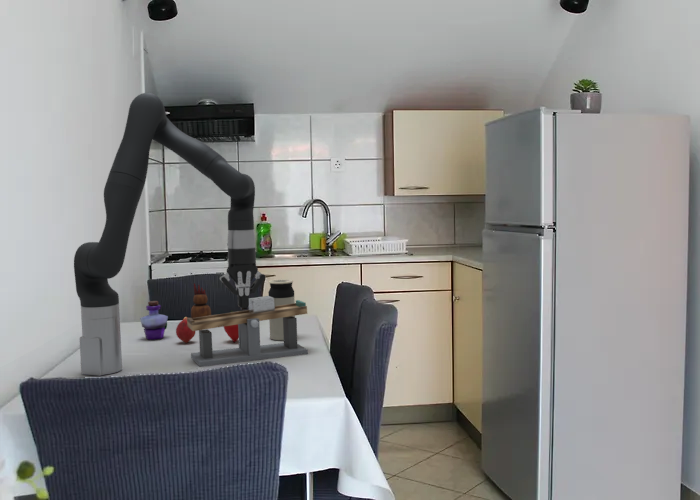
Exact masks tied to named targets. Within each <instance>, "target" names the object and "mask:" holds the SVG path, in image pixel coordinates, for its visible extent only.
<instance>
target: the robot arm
mask: <svg viewBox="0 0 700 500" xmlns="http://www.w3.org/2000/svg"><path fill="white" fill-rule="evenodd" d="M171 121H172V120H170V119H169V118H168V117H167V114H166V108H165V106H164V103H163V101H162V99H161V98H160V97H159V96H157V94H154V93H153V92H142V93H139V94H138V95H137V96H135V97H134V98H133V100H131V102H130V104H129V108H128V114H127V118H126V123H125V127H124V132H123V137H122V139H121V141H120V144H119V147H118V149H117V151H116V154H115V157H114V160H113V162H112V164H111V167H110V170H109V173H108V176H107V179H106V182H105V185H104V189H103V202H104V209H105V216H106V217H105V218H106V219H105V223H104V228H103V231H102V234H101V237H100V239H99V241H98V242H96V241H89V242H84V243H83V244H81V245H79V246H78V247H77V249H76V251H75V253H74V258H73V269H74V271H73V272H74V279H75V280H74V283H75V289H76V294H77V297H78V298H79V302H80V316H81V334H82V336H80V337H79V352H80V353H79V355H80V372H81V375H87V376H103V375H109V374H114V373H117V372H118V373H119V372H121V371H122V370H123V358H122V356H123V355H122V340H121V339H122V337H121V317H120V314H121V313H120V298H119V294H118V292H117V291H116V290H115V289H113V288H112V287H111V285H110V284H109V280H108V279H110V280H111V279H113V278H114V277H116V276H117V275H118V274H119V273H120V272H121V271H122V268H123V265H124V263H125V259H126V253H127V249H128V244H129V237H130V233H131V230H132V225H133V222H134V219H135V216H136V212H137V208H138V205H139V202H140V201H141V200H140V199H141V197H142V195H143V190H144V187H145V184H146V181H147V175H148V169H149V160H150V159H149V158H150V152H151V151H150V150H151V145H152V142H153V141H154V142H157V143H159V144H160V145H162V146H164V147H165V148H166V149H169V150H170V151H171V152H173V153H174V154H176V155H178V157H180V158H182V159H183V160H184V161H185V162H187V163H188V164H189V165H190V166H192V167H193V168H194V169H196V170H197V171H198V172H200V173H201V175H204V176H205V177H206V178H207V179H209V180H211V182H213V183H214V184H215V185H216V186H217V187H218V188H219V189H220V190H221V191H222V192H223V193H224V194H226V195H227V196H228V197H229V198H230V208H229V210H228V213H227V243H226V244H227V245H226V247H227V268H226V273H224V274H223V275H221V276H219V279H218V280H219V281H220V282H221V283H222V284H223V285H224V286H225V288H226V289H227V290H228V291H229V292H230V293H231V294H232V295H235V296H236V297H237V307H238V308H239V309H240V311H244V310H248V309H247V308H249V298H250V297H249V295H251V294H255V293H256V291H257V290H258V288H259V287H260V285H261V284H262V283H263V281H264V280H265V279H266V275H265V274H264V273H261V272H260V271H259V270H258V269H259V268H258V267H257V262H256V260H257V259H256V258H257V257H256V251H257V249H256V235H255V220H254V219H255V218H254V208H255V196H256V188H255V187H256V185H255V182H254V180H253V178H252V177H251V176H250V175H248V174H245V173H242V172H240V171H239V170H237V169H236V168H234V167H233V166H232V165H230V164H229V163H228V161H227V160H226V159H225V158H224V157H223V156H222V155H221V154H220V153H218V152H217V151H216V150H215V149H214V148H212V147H210V146H209V145H208V144H206V143H204V142H203V141H200V140H199V139H196V138H194V137H193V136H190V135H188V134H186V133H185V132H184V131H182V130H180V129H179V127H177V126H176V125H175V124H174V123H173V122H171ZM254 278H255V280H254V281H253V279H254ZM231 280H232V281H233V282H234V283H235V287H236V288H235V287H234V286H233V285H232V283H230V281H231ZM252 281H253V282H252ZM251 282H252V284H251Z"/></svg>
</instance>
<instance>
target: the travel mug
mask: <svg viewBox="0 0 700 500" xmlns="http://www.w3.org/2000/svg"><path fill="white" fill-rule="evenodd" d="M293 282H294V280H292V279H272V280H269V281H268V284H269V287H270V288H269V290H268V292H267V293H268V296H270V297H273V298H274V306H279V305H286V304H293V303H296V300H295V290H294V288H293ZM293 317H295V318H296V316H293ZM268 321H269V322H268V323H269V339H271V340H273V341H280V342H281V341H283V342H284V334H283V317H282V318H276V319H269V320H268Z"/></svg>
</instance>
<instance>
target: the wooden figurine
mask: <svg viewBox="0 0 700 500" xmlns="http://www.w3.org/2000/svg"><path fill="white" fill-rule="evenodd" d="M196 285H198V286H196ZM193 290H194V291H193V293H194V295H193V298H192V301H193V305H192V307H191V310H190V318H196V317H203V316H210V315H212V309H211V306H209V304H207V303H208V301H209V299H208V296H207V294H206V289H203V287H200V284H195V283H193Z"/></svg>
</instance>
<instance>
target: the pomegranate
mask: <svg viewBox="0 0 700 500" xmlns="http://www.w3.org/2000/svg"><path fill="white" fill-rule="evenodd" d="M187 318H188V317H187V316H185V317H184V318H183V319H182V320H181V321H180V322H179V323H178V324H177V325H176V329H175V335H176V336H177V338H178V339H179V340H180V341H181V342H183V343H185V344H188V343H189V342H191V340H192V339H193V338H194V337H195V335H196V331H192V330H191V329H190V328H189V327H188V325H187Z"/></svg>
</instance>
